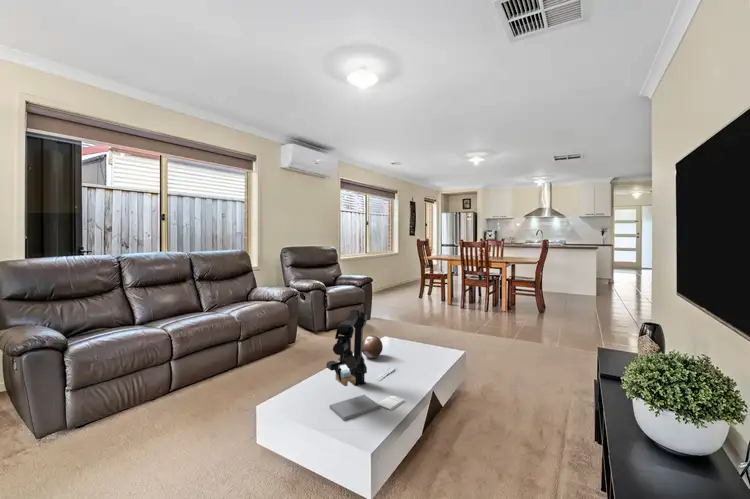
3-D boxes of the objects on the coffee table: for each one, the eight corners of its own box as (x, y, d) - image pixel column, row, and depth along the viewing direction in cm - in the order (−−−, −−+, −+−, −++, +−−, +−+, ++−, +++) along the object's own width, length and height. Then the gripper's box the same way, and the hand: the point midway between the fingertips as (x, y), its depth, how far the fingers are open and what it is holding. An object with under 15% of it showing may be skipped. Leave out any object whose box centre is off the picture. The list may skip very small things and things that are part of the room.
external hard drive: (376, 406, 170) (391, 397, 179) (389, 412, 164) (404, 402, 174) (376, 403, 170) (391, 394, 179) (389, 408, 164) (404, 399, 174)
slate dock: (364, 397, 179) (364, 394, 179) (379, 408, 167) (379, 405, 167) (329, 408, 167) (329, 405, 167) (343, 420, 156) (343, 417, 156)
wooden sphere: (358, 359, 234) (357, 338, 234) (365, 353, 248) (364, 332, 248) (379, 362, 230) (379, 339, 229) (385, 354, 244) (385, 333, 244)
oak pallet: (345, 377, 180) (345, 371, 180) (355, 383, 171) (355, 377, 171) (335, 379, 176) (335, 373, 176) (344, 386, 168) (344, 380, 168)
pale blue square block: (346, 373, 177) (346, 369, 177) (350, 376, 173) (350, 372, 173) (339, 375, 174) (339, 371, 174) (343, 377, 171) (343, 373, 171)
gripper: (336, 356, 162) (336, 389, 162) (369, 349, 172) (369, 380, 172) (325, 350, 171) (325, 381, 171) (358, 344, 181) (358, 373, 181)
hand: (345, 379), depth 174 cm, fingers closed on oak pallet, 6 cm apart
